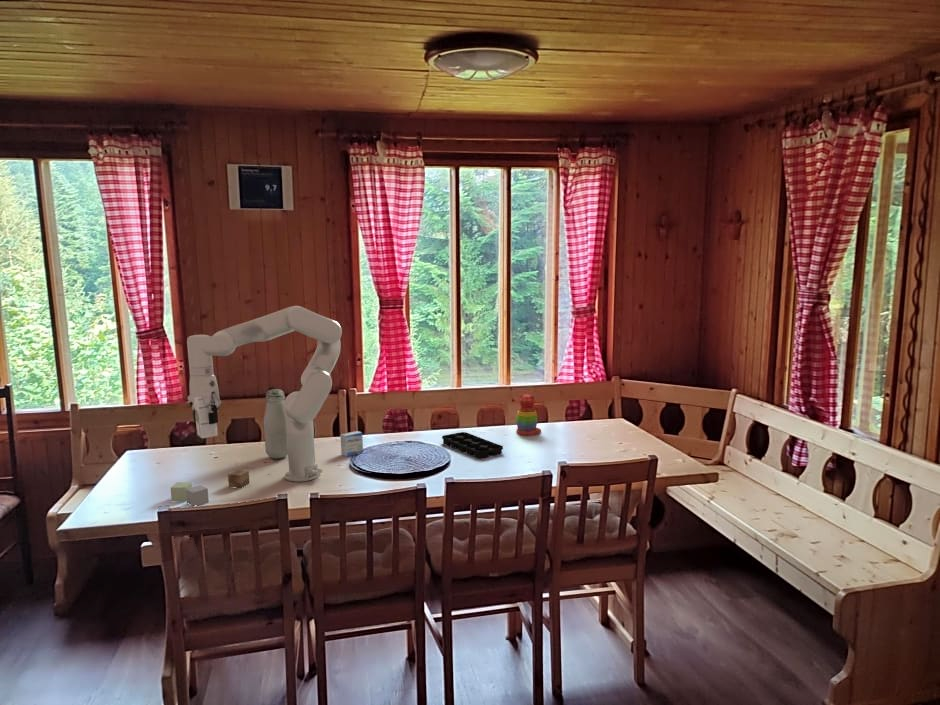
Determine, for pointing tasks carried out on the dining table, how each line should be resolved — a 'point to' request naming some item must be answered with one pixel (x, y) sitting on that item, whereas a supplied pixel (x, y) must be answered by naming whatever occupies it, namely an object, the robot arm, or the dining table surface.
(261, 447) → the dining table surface
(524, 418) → the stacking bear
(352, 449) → the medicine box
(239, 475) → the walnut cube
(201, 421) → the syrup box
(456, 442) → the egg carton
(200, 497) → the slate grey cube
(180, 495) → the sage green cube
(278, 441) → the glass bottle
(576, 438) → the dining table surface
